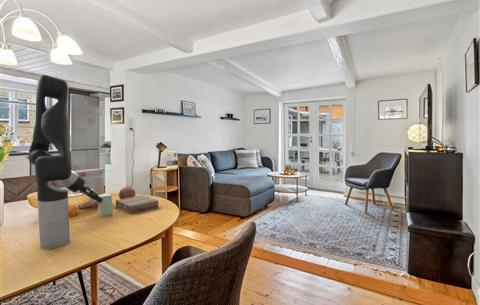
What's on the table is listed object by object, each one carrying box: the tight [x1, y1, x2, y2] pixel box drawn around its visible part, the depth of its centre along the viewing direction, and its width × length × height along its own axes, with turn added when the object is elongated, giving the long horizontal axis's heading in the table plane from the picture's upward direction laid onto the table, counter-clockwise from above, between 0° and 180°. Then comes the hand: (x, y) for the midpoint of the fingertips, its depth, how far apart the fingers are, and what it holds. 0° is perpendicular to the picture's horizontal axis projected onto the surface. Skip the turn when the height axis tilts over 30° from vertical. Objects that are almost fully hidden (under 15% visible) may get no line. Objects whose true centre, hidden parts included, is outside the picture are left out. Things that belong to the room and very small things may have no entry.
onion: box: [118, 185, 136, 200], centre depth 161 cm, size 10×9×10 cm
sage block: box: [97, 193, 113, 217], centre depth 135 cm, size 5×5×10 cm
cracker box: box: [73, 168, 105, 210], centre depth 150 cm, size 14×6×21 cm, turn 139°
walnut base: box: [115, 194, 159, 215], centre depth 148 cm, size 18×16×4 cm
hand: (98, 199), depth 133 cm, fingers open, 8 cm apart
